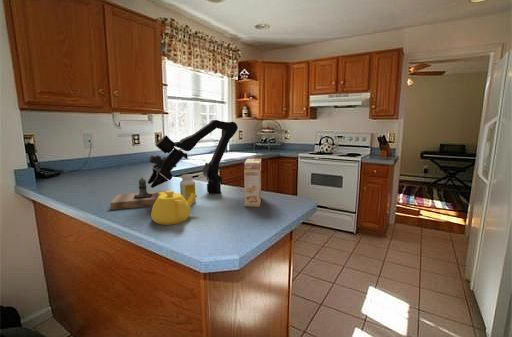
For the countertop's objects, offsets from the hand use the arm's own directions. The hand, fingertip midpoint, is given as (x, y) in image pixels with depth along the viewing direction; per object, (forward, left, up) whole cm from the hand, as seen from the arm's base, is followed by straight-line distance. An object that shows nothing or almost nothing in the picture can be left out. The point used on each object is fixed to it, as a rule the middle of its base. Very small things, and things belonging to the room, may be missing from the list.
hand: (149, 185), depth 122 cm
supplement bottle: (-17, +7, -8) cm, 20 cm away
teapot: (-11, +26, -8) cm, 30 cm away
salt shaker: (+3, +1, -8) cm, 9 cm away
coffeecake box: (-46, +15, -8) cm, 49 cm away
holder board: (+3, +1, -8) cm, 8 cm away
